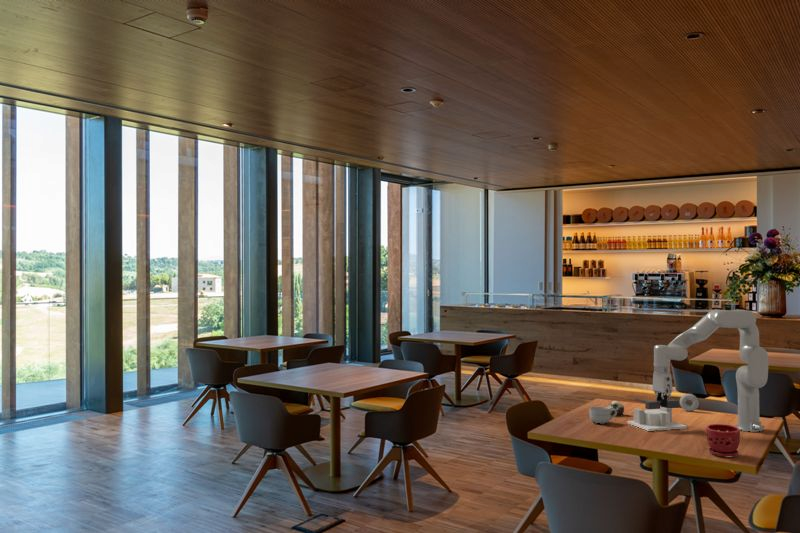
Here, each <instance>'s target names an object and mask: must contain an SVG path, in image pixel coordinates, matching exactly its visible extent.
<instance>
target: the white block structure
mask: <svg viewBox="0 0 800 533" xmlns="http://www.w3.org/2000/svg"><path fill="white" fill-rule="evenodd" d="M672 413H673V408H664V407H661V406H660V409H642V408H638V407H637V408H633V420H626V424H627V423H628V424H627V425H629V424H631V425H630V426H632V425H634V426H637V427H639V428H642V429H645V430H647V431H654V430H667V431H672V430H671V429H680V430H687V427H688V426H687V425H685V424H682V423H679V422H676V421H674V420H673V419H672V418H673V416H672V415H673V414H672ZM634 426H633V427H634ZM637 427H636V428H637ZM639 428H638V429H639ZM642 429H641V430H642ZM645 430H644V431H645ZM647 431H646V432H647ZM654 432H655V431H654Z"/></svg>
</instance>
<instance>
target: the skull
mask: <svg viewBox="0 0 800 533" xmlns="http://www.w3.org/2000/svg"><path fill="white" fill-rule="evenodd" d="M607 407H608V408H610V410H611V409H615V410H616V411H617V415H616V416H615V417H614V418H616V417H617V418H619V417H620V416H621V415H622V414H623V415H624V412H625V406H624V405H623V404H622V403H621V402H620V401H618V400H613V401H611V402H610V403H609V404H608V405H607ZM614 414H615V411H612V412H611V414H610V417H611V416H613V415H614ZM623 415H622V416H623ZM620 418H621V417H620Z"/></svg>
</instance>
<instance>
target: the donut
mask: <svg viewBox="0 0 800 533" xmlns="http://www.w3.org/2000/svg"><path fill="white" fill-rule="evenodd" d="M687 401H691V404H687ZM699 402H700V401H699V398H697V396H696V395H694V394H693V393H685V394H683V395H682V396H680V398H679V405H680V407H681V408H682V409H683V410H685V411H687V412H694V411H696V410H697V409H698V407H699V404H700V403H699Z"/></svg>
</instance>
